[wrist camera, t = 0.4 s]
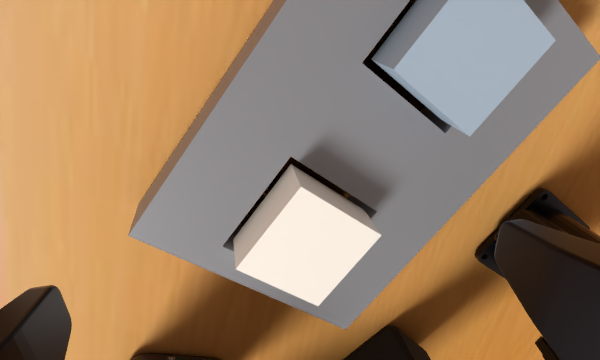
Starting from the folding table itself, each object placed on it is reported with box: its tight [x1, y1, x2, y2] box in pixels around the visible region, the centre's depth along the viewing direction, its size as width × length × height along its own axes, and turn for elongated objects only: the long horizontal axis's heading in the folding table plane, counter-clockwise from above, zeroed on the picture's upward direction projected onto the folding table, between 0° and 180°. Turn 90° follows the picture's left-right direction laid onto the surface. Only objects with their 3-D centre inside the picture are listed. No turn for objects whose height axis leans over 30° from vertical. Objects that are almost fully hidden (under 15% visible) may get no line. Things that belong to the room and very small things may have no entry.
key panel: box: [128, 0, 600, 330], centre depth 20 cm, size 14×20×3 cm
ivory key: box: [233, 164, 381, 306], centre depth 19 cm, size 5×5×2 cm
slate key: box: [372, 0, 556, 136], centre depth 17 cm, size 5×5×2 cm
